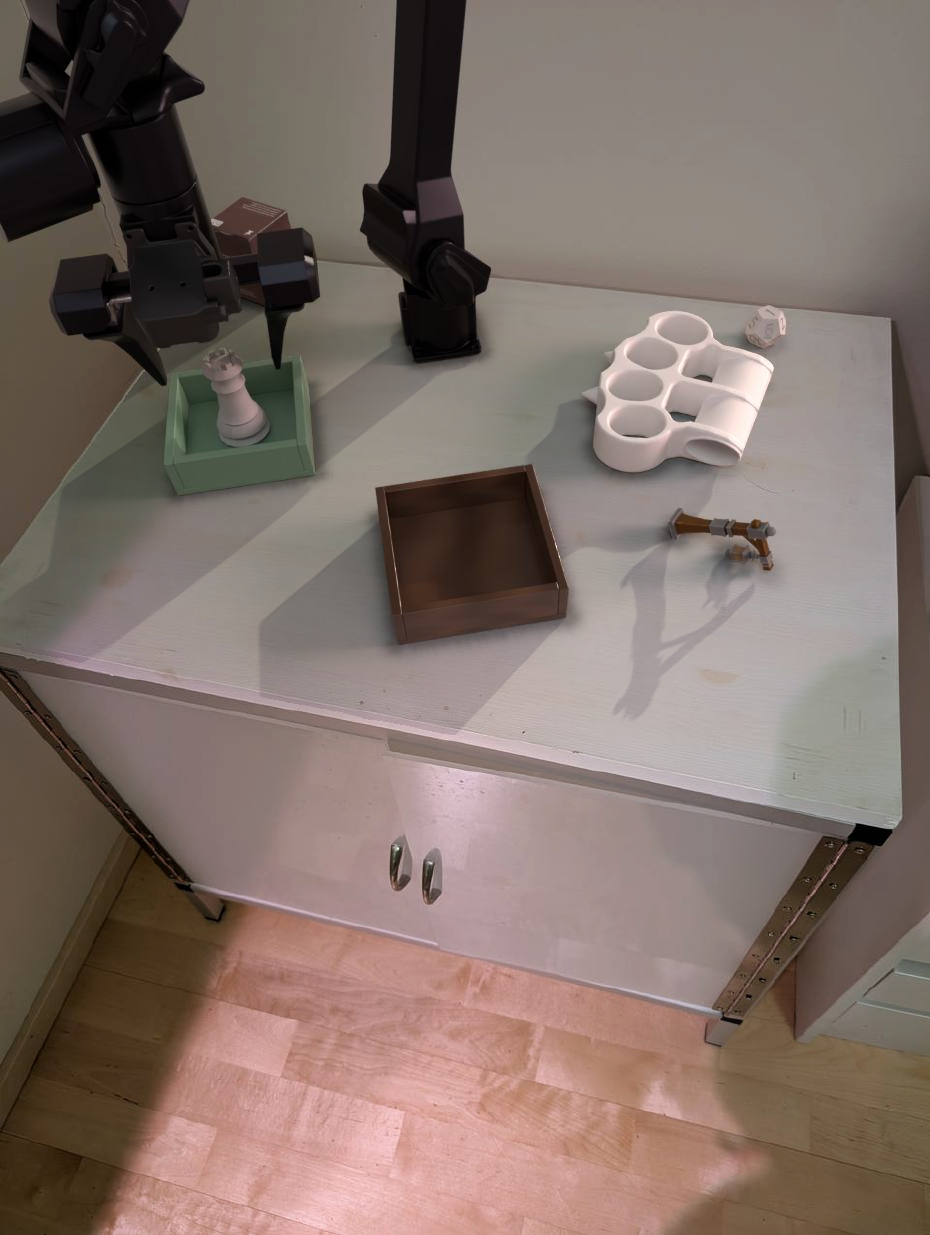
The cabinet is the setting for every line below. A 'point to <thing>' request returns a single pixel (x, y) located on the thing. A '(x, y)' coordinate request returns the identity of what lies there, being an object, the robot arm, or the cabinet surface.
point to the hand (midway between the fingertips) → (221, 374)
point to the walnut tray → (469, 554)
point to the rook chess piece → (234, 401)
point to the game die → (765, 326)
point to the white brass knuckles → (676, 396)
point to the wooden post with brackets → (724, 527)
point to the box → (247, 233)
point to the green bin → (215, 465)
